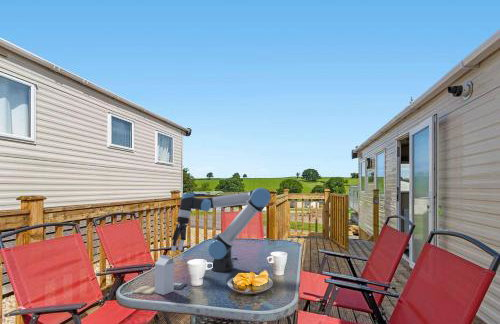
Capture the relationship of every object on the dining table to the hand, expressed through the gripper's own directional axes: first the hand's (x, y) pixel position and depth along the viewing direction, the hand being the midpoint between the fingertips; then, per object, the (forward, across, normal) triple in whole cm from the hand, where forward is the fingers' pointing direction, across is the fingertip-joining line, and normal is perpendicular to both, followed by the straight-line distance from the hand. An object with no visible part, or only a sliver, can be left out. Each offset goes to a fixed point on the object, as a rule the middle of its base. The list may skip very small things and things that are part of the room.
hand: (176, 250), depth 196 cm
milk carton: (+19, +28, +6) cm, 35 cm away
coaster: (+20, +28, -3) cm, 34 cm away
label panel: (+17, +19, +6) cm, 26 cm away
